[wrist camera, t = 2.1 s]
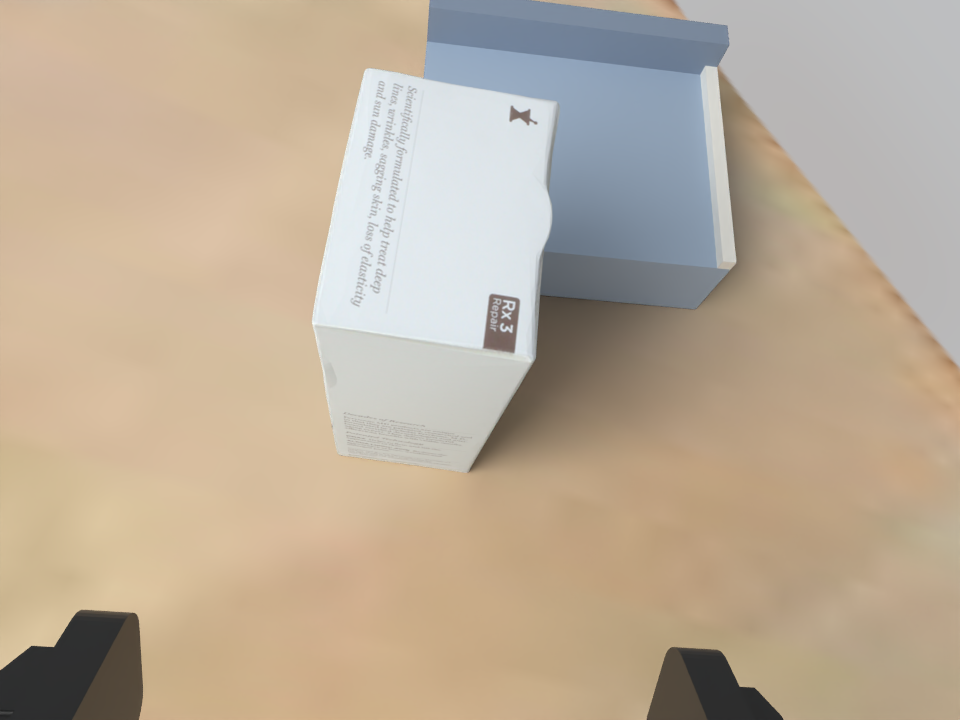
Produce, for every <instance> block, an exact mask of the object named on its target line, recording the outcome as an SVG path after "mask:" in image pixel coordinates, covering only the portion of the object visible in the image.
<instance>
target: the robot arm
mask: <svg viewBox="0 0 960 720" xmlns="http://www.w3.org/2000/svg"><path fill="white" fill-rule="evenodd" d="M142 698H143V681H142V664H141V647H140V630H139V620H138V616H137V615H136V614H135V613H127V612H110V611H94V610H80V611H79V612H77V613H76V614H75V615H74V617H73V618H72V620H71V621H70V623H69V624H68V626H67V627H66V629H65V631H64V632H63V634H62V635H61V637H60V639H59V640H58V642H57V643H56V645H55V647H41V646H31V647H30V648H28V649H27V650H26V651H25V652H23V653H22V654H21V655H19V656H18V657H17V658H16V659H14V660H13V661H12V662H11V663H9V664H8V665H7V666H5V667H4V668H3V669H2V670H0V720H139V716H140V712H141V706H142ZM647 720H783V718H782V716H781V715H780V714H779V713H778V712H777V711H776V710H775V709H774V708H773V707H772V706H771V705H770V704H769V702H768V701H767V700H766V699H765V698H764V697H763V696H762V695H761V694H760V693H759V692H758V691H757V690H756V689H755V688H749V687H739V685H738V683H737V680H736V678H735V676H734V674H733V672H732V670H731V668H730V666H729V664H728V662H727V660H726V658H725V656H724V655H723V653H722V652H720V651H719V650H711V649H694V648H677V647H672V648H670V649H669V650H668V651H667V653H666V656H665V659H664V662H663V665H662V669H661V672H660V675H659V679H658V682H657V685H656V689H655V692H654V696H653V699H652V702H651V706H650V709H649V712H648V716H647Z"/></svg>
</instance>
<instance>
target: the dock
mask: <svg viewBox="0 0 960 720" xmlns="http://www.w3.org/2000/svg"><path fill="white" fill-rule="evenodd" d="M728 47H729V37H728V28H727V26H726V25H718V24H710V23H702V22H695V21H687V20H680V19H672V18H664V17H656V16H648V15H641V14H633V13H625V12H617V11H609V10H602V9H594V8H586V7H578V6H571V5H563V4H555V3H547V2H539V1H532V0H430V4H429V19H428V35H427V48H426V59H425V69H424V78H425V79H429V80H435V81H440V82H445V83H450V84H456V85H461V86H466V87H473V88H479V89H486V90H491V91H497V92H503V93H509V94H515V95H521V96H525V97H530V98H538V99H546V100H552V101H557V102H558V103H559V106H560V115H559V121H558V126H557V132H556V137H555V142H554V148H553V155H552V166H551V176H550V186H549V196H550V200H551V203H552V226H551V231H550V235H549V238H548V240H547V242H546V244H545V247H544V255H543V266H542V277H541V288H540V295H545V296H556V297H566V298H577V299H588V300H599V301H610V302H620V303H631V304H642V305H653V306H664V307H674V308H685V309H696V308H697V307H698V306H699V305H700V304H701V303H702V301H703V300H704V299H705V298H706V297H707V296H708V295H709V293H710V292H711V291H712V290H713V289H714V288H715V287H716V286H717V284H718V283H719V282H720V281H721V280H722V279H723V278H724V276H725V275H726V274H727V273H728V272H729V271H730V270H731V269H732V267H733V266H734V265H735V264H736V253H735V243H734V233H733V223H732V212H731V202H730V192H729V182H728V172H727V162H726V152H725V142H724V132H723V122H722V111H721V101H720V91H719V81H718V71H717V66H718V65H719V63H720V61H721V59H722V57H723V56H724V54H725V52H726V50H727V48H728Z"/></svg>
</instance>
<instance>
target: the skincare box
mask: <svg viewBox="0 0 960 720" xmlns="http://www.w3.org/2000/svg"><path fill="white" fill-rule="evenodd" d="M559 115H560V106H559V103H558V102H557V101H552V100H546V99H538V98H530V97H525V96H521V95H515V94H509V93H503V92H497V91H491V90H486V89H479V88H473V87H466V86H461V85H456V84H450V83H445V82H440V81H435V80H429V79H425V78H420V77H416V76H411V75H406V74H402V73H397V72H392V71H386V70H379V69H373V68H368V69H366V70H365V71H364V75H363V80H362V84H361V88H360V92H359V96H358V100H357V104H356V109H355V113H354V117H353V122H352V126H351V130H350V134H349V139H348V143H347V147H346V151H345V156H344V160H343V165H342V170H341V175H340V179H339V184H338V189H337V193H336V198H335V203H334V208H333V213H332V219H331V224H330V229H329V233H328V238H327V243H326V248H325V252H324V257H323V262H322V266H321V272H320V277H319V282H318V288H317V293H316V299H315V304H314V311H313V317H312V325H313V328H314V332H315V336H316V342H317V347H318V352H319V356H320V360H321V364H322V368H323V376H324V385H325V391H326V397H327V402H328V406H329V412H330V418H331V422H332V428H333V433H334V439H335V444H336V449H337V453H338V454H339V455H342V456H350V457H358V458H365V459H372V460H380V461H387V462H394V463H402V464H409V465H416V466H423V467H430V468H437V469H444V470H451V471H457V472H469V471H470V468H471V466H472V465H473V463H474V461H475V459H476V458H477V456H478V454H479V453H480V451H481V449H482V448H483V446H484V444H485V442H486V441H487V439H488V438H489V436H490V434H491V432H492V431H493V429H494V427H495V426H496V424H497V422H498V421H499V419H500V417H501V416H502V414H503V412H504V411H505V409H506V408H507V406H508V404H509V403H510V401H511V399H512V398H513V396H514V394H515V393H516V391H517V389H518V388H519V386H520V384H521V383H522V381H523V379H524V378H525V376H526V374H527V372H528V371H529V369H530V367H531V366H532V364H533V362H534V361H535V359H536V346H537V332H538V318H539V302H540V288H541V277H542V266H543V255H544V247H545V244H546V242H547V240H548V238H549V235H550V231H551V226H552V203H551V200H550V196H549V186H550V176H551V166H552V155H553V148H554V142H555V137H556V132H557V126H558V121H559Z"/></svg>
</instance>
